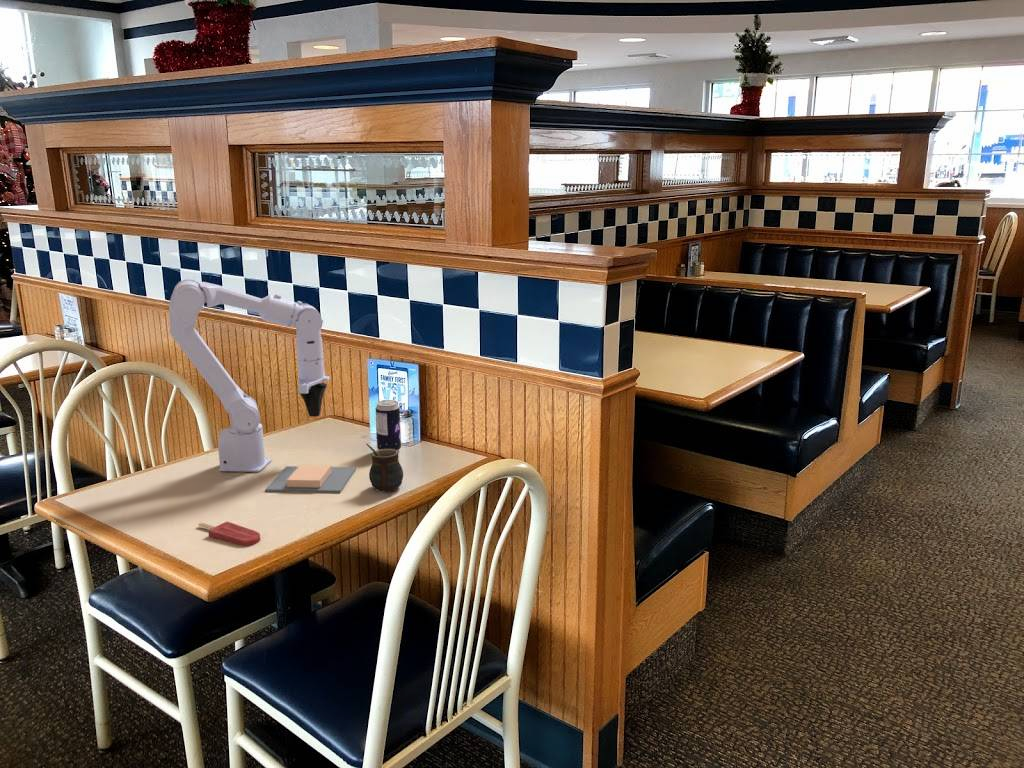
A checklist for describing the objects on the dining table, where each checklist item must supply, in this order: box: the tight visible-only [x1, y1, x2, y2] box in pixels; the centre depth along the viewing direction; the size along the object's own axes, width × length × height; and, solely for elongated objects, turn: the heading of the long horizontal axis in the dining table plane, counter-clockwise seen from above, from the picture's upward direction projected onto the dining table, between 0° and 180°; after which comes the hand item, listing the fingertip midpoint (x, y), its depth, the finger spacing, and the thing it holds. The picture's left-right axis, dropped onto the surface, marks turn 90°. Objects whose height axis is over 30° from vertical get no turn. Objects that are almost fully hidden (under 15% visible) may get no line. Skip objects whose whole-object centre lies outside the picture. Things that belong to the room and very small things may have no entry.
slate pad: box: [264, 465, 357, 494], centre depth 178 cm, size 16×14×1 cm
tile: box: [287, 464, 332, 488], centre depth 177 cm, size 7×2×9 cm
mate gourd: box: [365, 442, 404, 493], centre depth 172 cm, size 7×8×10 cm
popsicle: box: [198, 521, 261, 547], centre depth 151 cm, size 4×2×15 cm
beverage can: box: [375, 399, 402, 452], centre depth 196 cm, size 6×6×12 cm
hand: (314, 415), depth 189 cm, fingers closed
